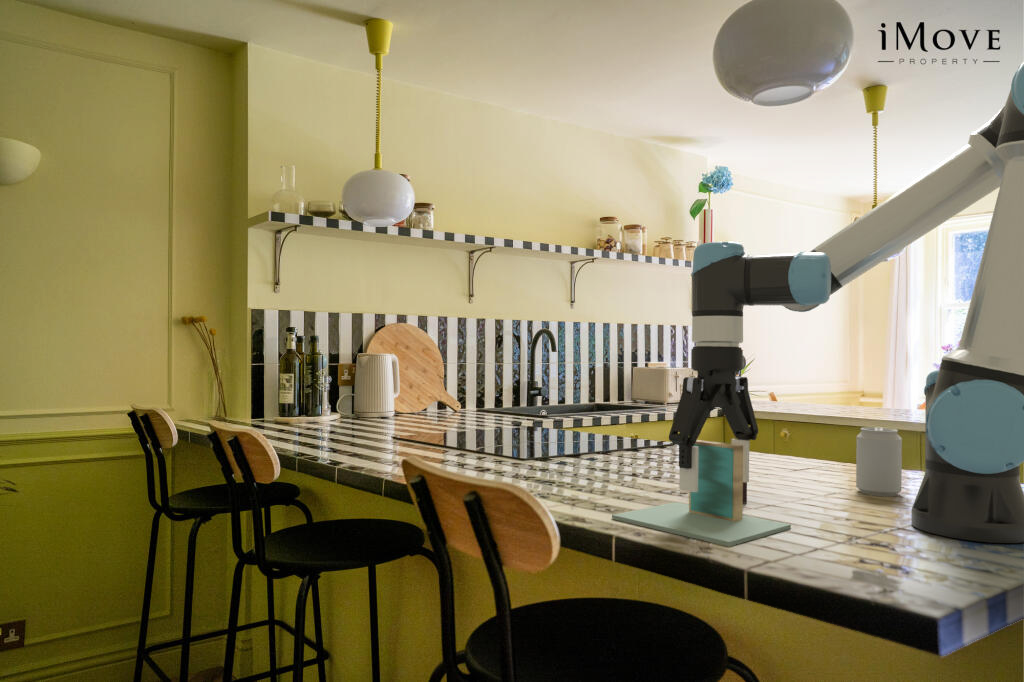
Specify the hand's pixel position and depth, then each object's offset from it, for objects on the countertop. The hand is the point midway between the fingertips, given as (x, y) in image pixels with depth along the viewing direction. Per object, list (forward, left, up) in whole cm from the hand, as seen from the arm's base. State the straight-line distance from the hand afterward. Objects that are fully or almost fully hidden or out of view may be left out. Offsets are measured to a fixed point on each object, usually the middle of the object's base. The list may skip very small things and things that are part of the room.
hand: (715, 486), depth 110 cm
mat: (0, +4, -5) cm, 6 cm away
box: (+8, -16, -5) cm, 19 cm away
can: (-6, -44, -5) cm, 45 cm away
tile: (0, 0, -4) cm, 5 cm away
